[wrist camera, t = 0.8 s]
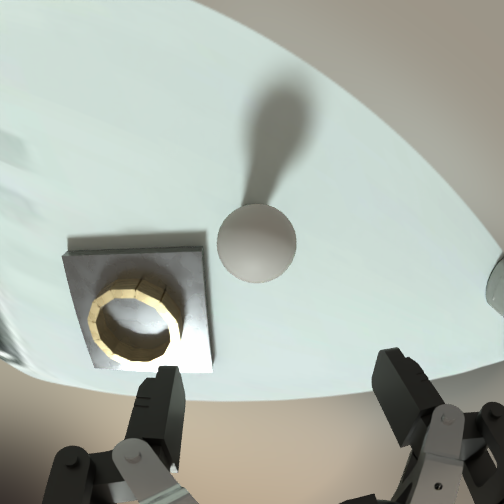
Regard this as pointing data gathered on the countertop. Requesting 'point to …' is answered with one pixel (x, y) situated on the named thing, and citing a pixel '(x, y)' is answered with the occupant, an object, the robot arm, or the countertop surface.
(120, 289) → the lamp socket
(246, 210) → the lightbulb
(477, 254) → the countertop surface
